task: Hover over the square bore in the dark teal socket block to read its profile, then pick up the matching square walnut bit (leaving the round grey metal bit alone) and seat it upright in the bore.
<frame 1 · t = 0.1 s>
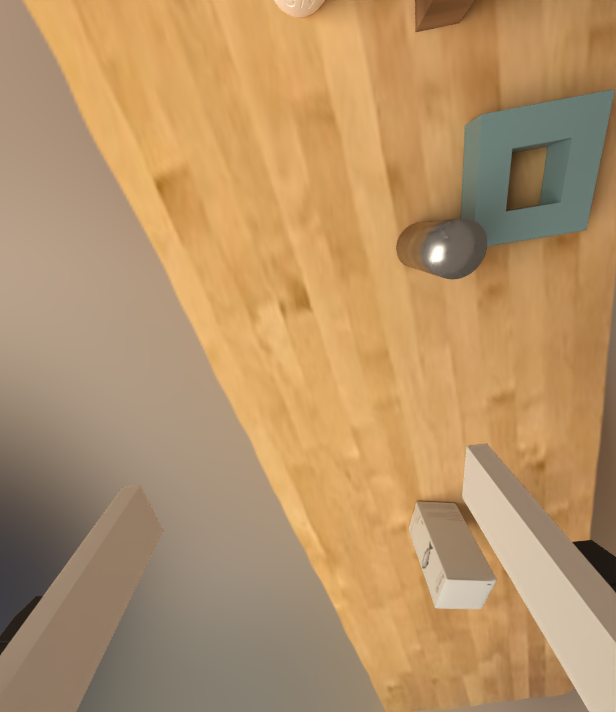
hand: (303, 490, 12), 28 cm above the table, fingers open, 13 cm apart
socket block: (517, 181, 32), on the table
supplement box: (430, 514, 53), on the table
round bit: (417, 245, 34), on the table
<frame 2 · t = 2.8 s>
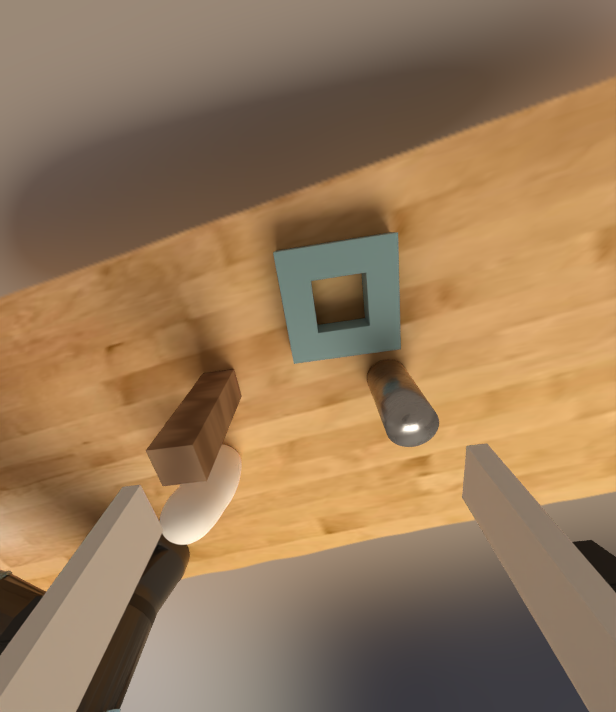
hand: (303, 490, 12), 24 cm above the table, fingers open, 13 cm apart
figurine: (218, 458, 42), on the table
square bit: (222, 384, 37), on the table
socket block: (338, 297, 32), on the table
round bit: (386, 377, 37), on the table
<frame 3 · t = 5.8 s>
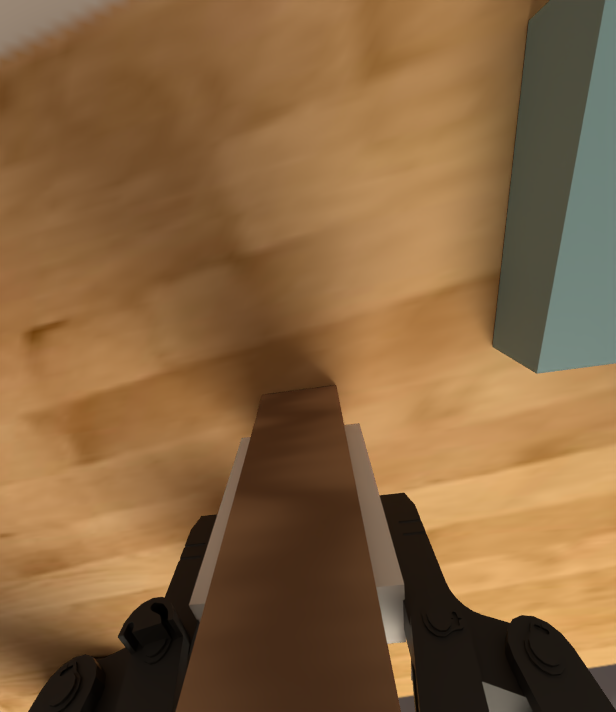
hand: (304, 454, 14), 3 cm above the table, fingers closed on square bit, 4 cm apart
square bit: (304, 420, 16), on the table, touching gripper
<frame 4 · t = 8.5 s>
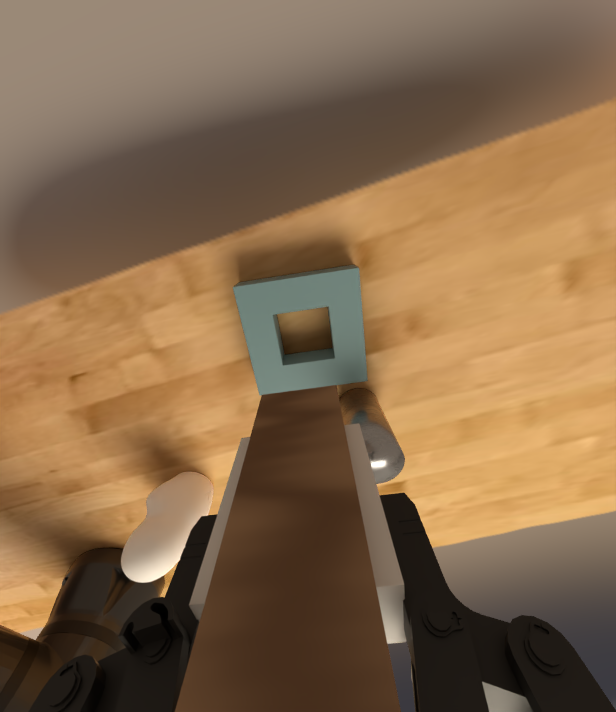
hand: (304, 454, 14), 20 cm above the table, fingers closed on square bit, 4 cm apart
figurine: (190, 485, 41), on the table
square bit: (304, 420, 16), point 17 cm above the table, touching gripper
socket block: (304, 328, 32), on the table
round bit: (357, 405, 36), on the table
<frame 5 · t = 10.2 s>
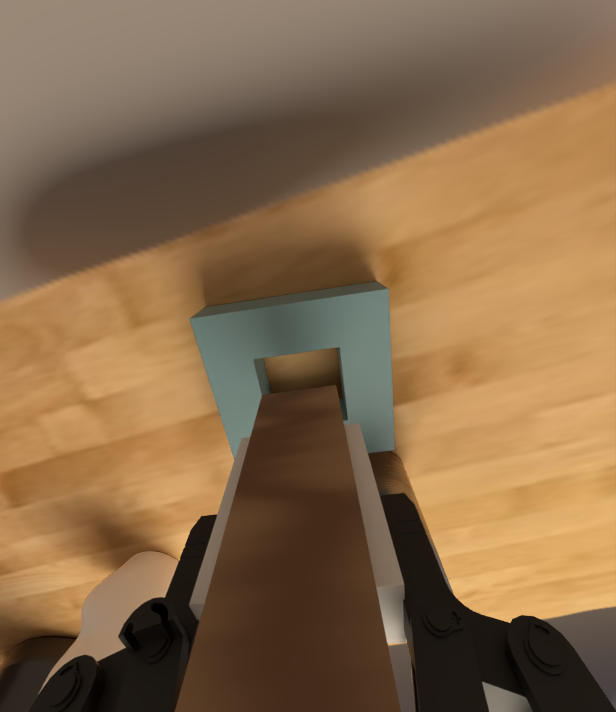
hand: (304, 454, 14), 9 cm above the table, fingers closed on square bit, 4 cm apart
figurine: (152, 566, 31), on the table
square bit: (304, 420, 16), point 7 cm above the table, touching gripper
socket block: (303, 371, 22), on the table
round bit: (376, 472, 26), on the table
when the fingers open (4 cm above the table, at t = 11.5 s): square bit drops 1 cm, resting in socket block.
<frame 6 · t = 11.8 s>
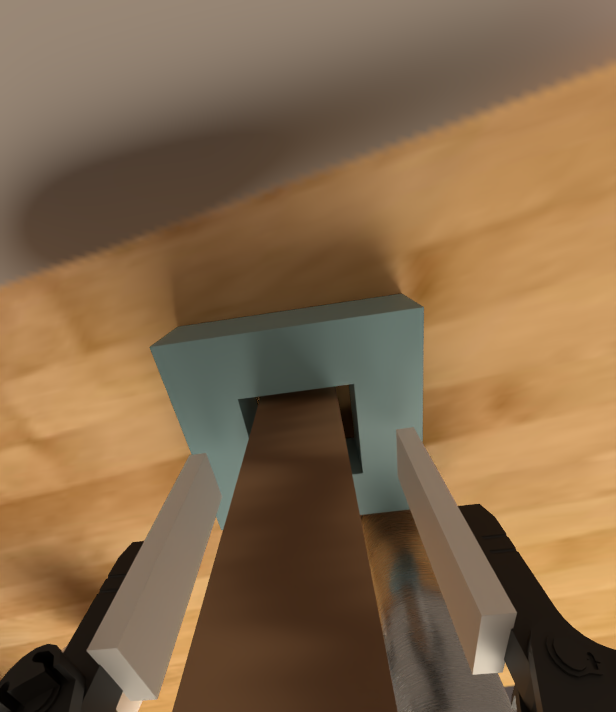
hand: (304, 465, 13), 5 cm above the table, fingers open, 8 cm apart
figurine: (127, 620, 27), on the table
square bit: (303, 406, 17), resting in socket block
socket block: (304, 406, 17), on the table
round bit: (393, 522, 21), on the table
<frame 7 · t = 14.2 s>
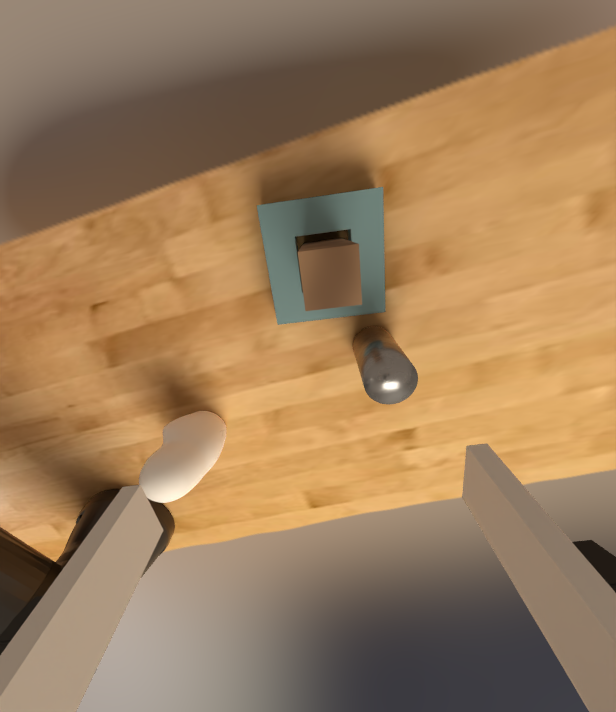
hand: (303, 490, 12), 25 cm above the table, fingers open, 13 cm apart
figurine: (203, 426, 42), on the table
square bit: (323, 259, 32), resting in socket block
socket block: (324, 259, 32), on the table
round bit: (372, 345, 36), on the table
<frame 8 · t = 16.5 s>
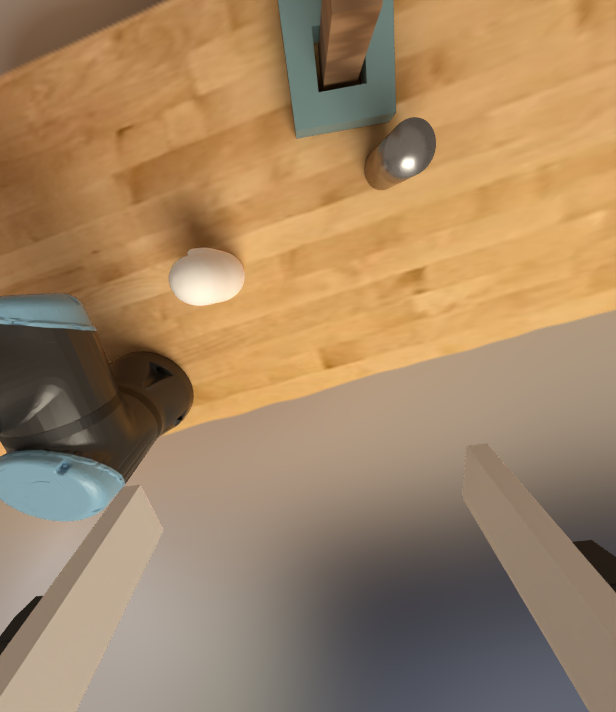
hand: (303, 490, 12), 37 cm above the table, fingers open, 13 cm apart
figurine: (222, 272, 44), on the table
square bit: (336, 70, 35), resting in socket block
socket block: (337, 70, 35), on the table
round bit: (383, 168, 39), on the table
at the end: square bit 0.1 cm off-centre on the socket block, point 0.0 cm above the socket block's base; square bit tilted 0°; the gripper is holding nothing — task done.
